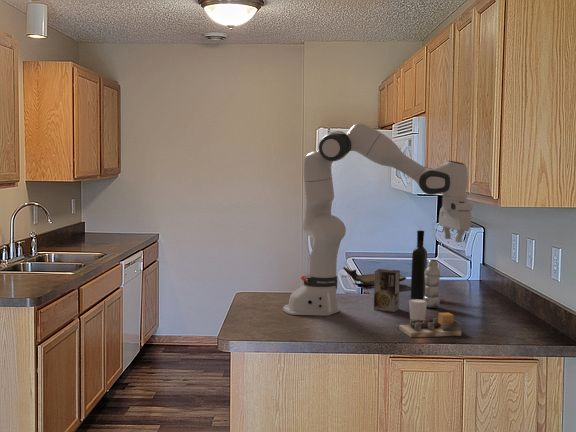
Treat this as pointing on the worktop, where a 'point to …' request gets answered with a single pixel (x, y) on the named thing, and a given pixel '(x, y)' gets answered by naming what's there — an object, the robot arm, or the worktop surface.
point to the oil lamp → (365, 277)
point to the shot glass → (417, 309)
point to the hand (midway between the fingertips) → (453, 240)
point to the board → (431, 329)
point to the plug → (439, 320)
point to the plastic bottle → (432, 284)
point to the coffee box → (386, 290)
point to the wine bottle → (418, 268)
